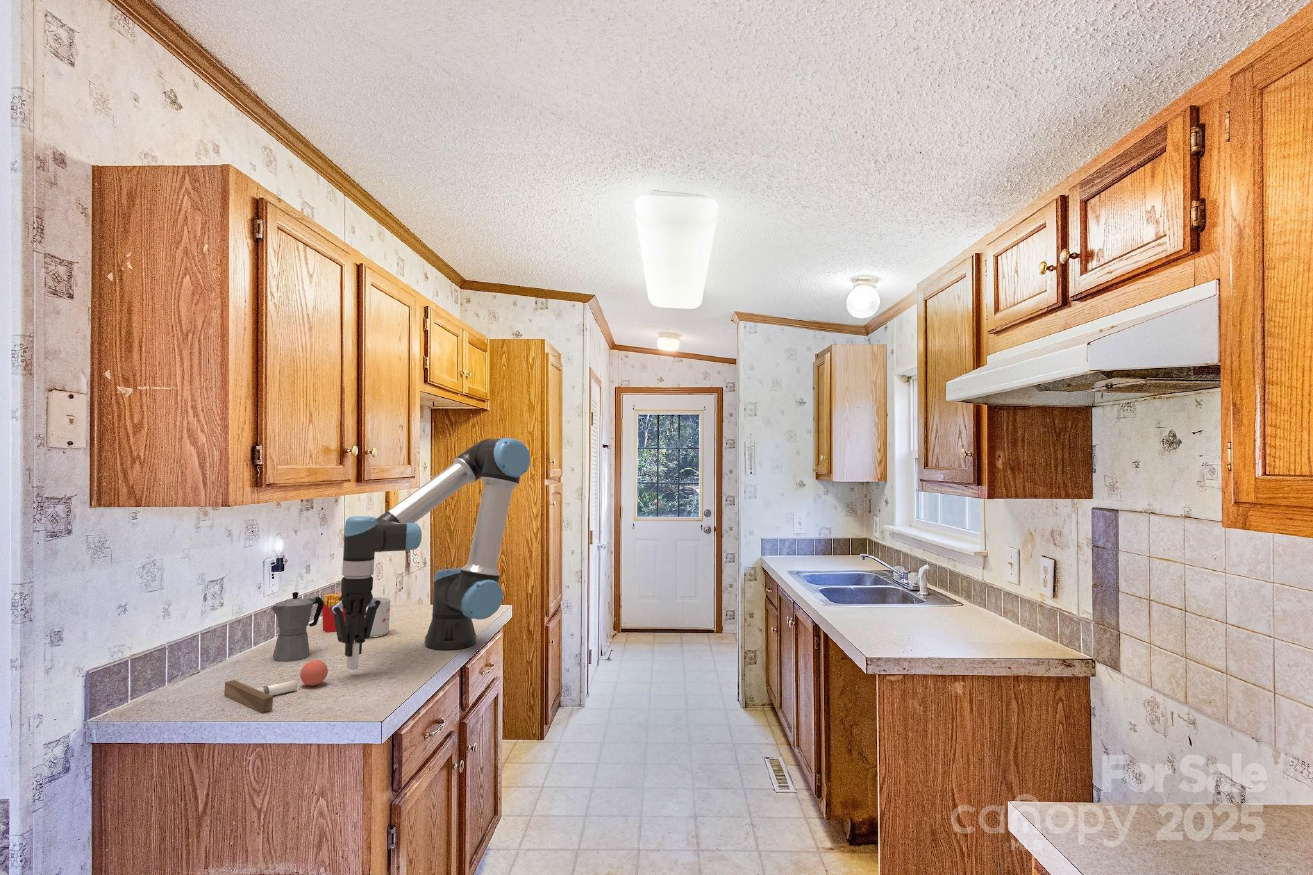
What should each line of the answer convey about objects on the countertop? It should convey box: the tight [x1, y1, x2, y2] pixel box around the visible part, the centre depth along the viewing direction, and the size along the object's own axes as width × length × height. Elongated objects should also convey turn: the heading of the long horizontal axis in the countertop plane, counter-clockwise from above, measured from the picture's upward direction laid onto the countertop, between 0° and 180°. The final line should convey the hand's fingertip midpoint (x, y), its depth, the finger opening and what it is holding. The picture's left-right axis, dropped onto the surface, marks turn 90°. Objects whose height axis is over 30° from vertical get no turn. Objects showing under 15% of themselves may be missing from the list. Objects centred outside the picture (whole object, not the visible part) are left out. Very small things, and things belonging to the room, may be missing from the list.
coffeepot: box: [270, 591, 324, 662], centre depth 183 cm, size 15×9×18 cm, turn 151°
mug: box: [365, 596, 391, 638], centre depth 206 cm, size 12×9×11 cm
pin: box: [255, 679, 298, 697], centre depth 152 cm, size 2×2×8 cm
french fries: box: [321, 592, 346, 633], centre depth 211 cm, size 8×4×12 cm, turn 93°
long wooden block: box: [223, 679, 274, 714], centre depth 146 cm, size 2×18×3 cm, turn 56°
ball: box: [299, 659, 329, 687], centre depth 159 cm, size 6×6×6 cm
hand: (352, 668), depth 167 cm, fingers closed
